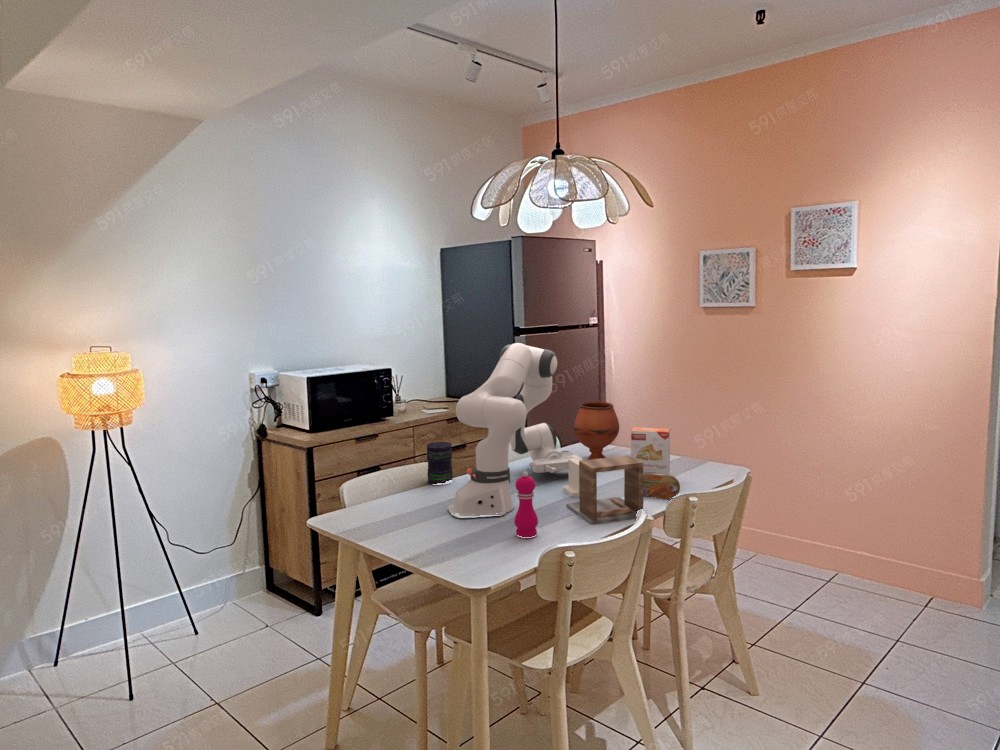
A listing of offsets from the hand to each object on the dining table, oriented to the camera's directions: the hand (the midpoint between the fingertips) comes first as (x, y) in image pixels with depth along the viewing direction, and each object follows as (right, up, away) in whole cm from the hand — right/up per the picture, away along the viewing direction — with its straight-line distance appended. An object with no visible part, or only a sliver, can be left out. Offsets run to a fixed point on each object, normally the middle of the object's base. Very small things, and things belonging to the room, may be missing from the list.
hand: (565, 469), depth 259 cm
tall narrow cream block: (+4, -7, -9) cm, 12 cm away
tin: (+31, -8, -17) cm, 36 cm away
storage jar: (-48, -6, +8) cm, 49 cm away
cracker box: (+32, -5, 0) cm, 33 cm away
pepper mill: (-17, -13, -51) cm, 55 cm away
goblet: (+17, -1, +32) cm, 36 cm away
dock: (+10, -10, -30) cm, 33 cm away
